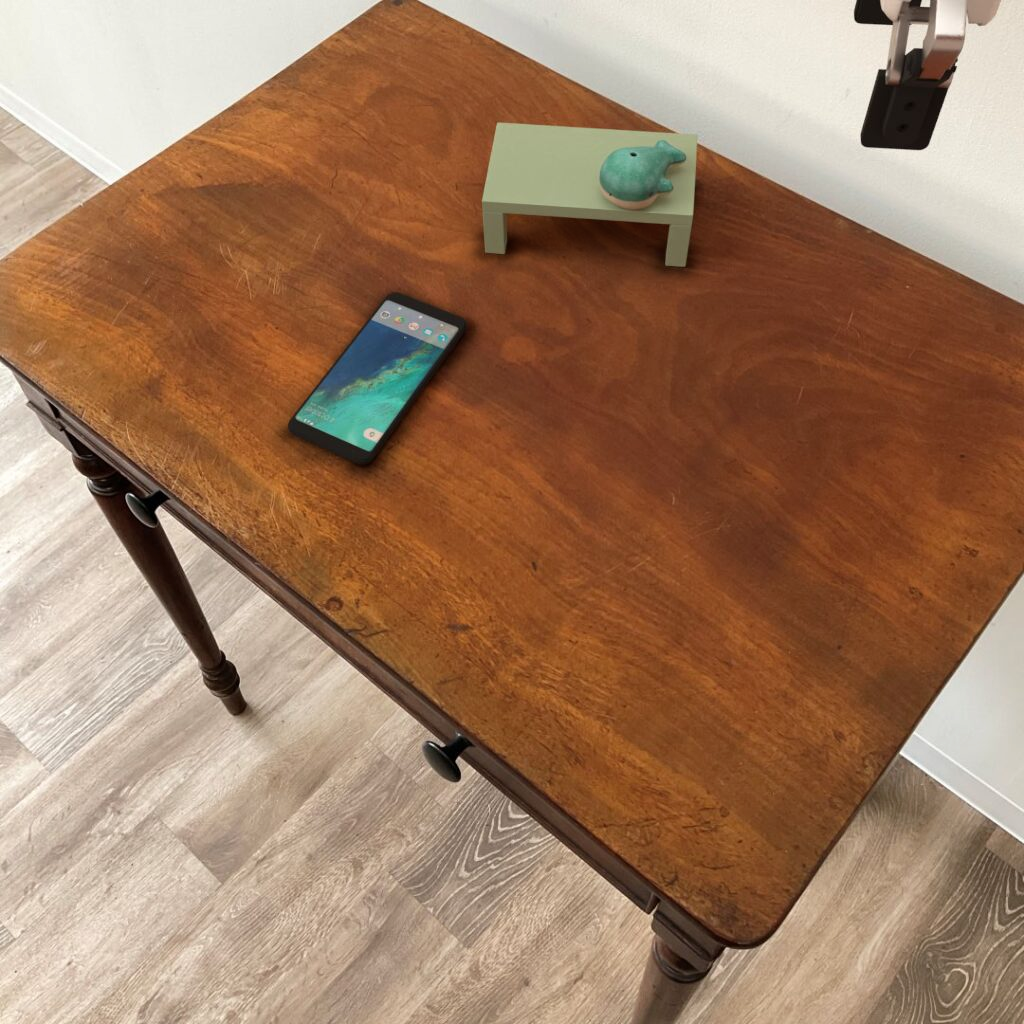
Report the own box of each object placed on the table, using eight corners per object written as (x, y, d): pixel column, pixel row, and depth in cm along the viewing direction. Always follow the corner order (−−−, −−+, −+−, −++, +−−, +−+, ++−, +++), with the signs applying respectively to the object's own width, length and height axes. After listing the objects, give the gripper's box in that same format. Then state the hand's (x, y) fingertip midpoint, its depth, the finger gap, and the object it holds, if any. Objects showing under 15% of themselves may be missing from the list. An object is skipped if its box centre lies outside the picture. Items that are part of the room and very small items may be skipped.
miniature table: (690, 188, 92) (697, 134, 87) (685, 267, 87) (693, 215, 83) (499, 175, 93) (497, 122, 89) (485, 253, 89) (481, 200, 84)
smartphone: (470, 319, 84) (366, 464, 77) (471, 325, 85) (367, 470, 78) (391, 287, 86) (281, 427, 79) (392, 294, 87) (284, 433, 80)
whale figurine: (581, 189, 85) (582, 149, 81) (647, 143, 87) (651, 103, 84) (635, 228, 82) (639, 189, 79) (703, 180, 85) (709, 140, 81)
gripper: (1144, -189, 37) (979, 204, 51) (1073, -403, 46) (950, -18, 60) (913, -195, 38) (814, 194, 52) (888, -405, 47) (810, -23, 61)
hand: (887, 80), depth 56 cm, fingers open, 9 cm apart
